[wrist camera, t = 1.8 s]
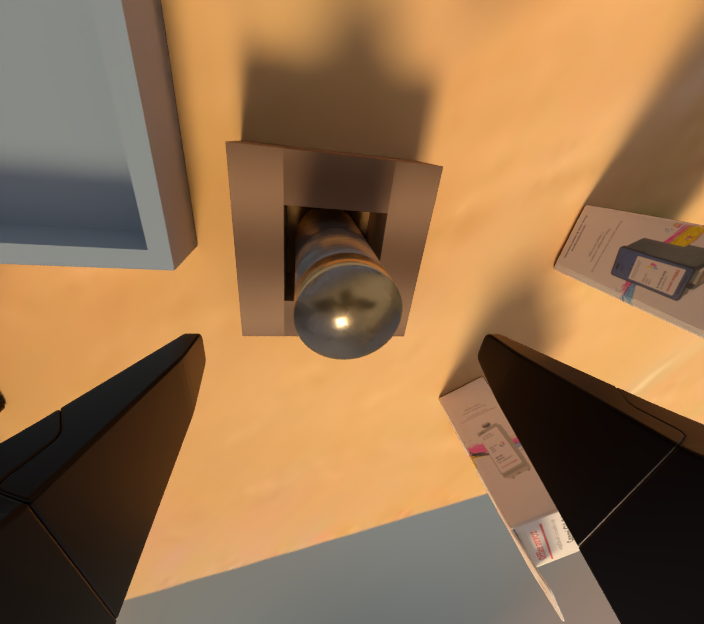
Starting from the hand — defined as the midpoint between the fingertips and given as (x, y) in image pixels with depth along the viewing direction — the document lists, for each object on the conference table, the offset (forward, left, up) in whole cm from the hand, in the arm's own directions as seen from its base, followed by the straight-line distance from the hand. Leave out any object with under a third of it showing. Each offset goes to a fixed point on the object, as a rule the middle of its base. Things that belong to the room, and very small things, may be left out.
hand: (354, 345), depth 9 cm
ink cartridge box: (-17, -16, -12) cm, 26 cm away
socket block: (0, 0, -12) cm, 12 cm away
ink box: (+1, -22, -12) cm, 25 cm away
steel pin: (0, 0, -12) cm, 12 cm away
